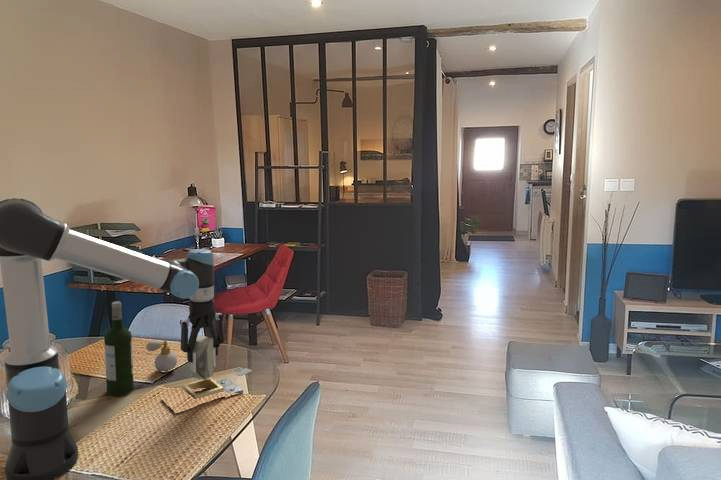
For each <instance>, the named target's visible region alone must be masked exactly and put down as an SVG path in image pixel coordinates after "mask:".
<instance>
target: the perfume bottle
mask: <svg viewBox="0 0 721 480" xmlns="http://www.w3.org/2000/svg"><path fill="white" fill-rule="evenodd" d="M145 347H146V350H147V351H149V352H155V351H157V350H159V349H160V350H161V351H160V353H158V354H157V355H156V357H155V358H154V366H155V368H156V369H155V370H157V371H158V370H159V371H158V372H160V371H168V370H171V369H173V368H174V369H175V367H176V366H177V363H178V359H177V356H176V354H175V353H173V352H172V351H171V349H170V345H168V341H167V340H166V339H164V340H163V342H161V341H158V340H150V341H148V342H147V343H146V345H145ZM174 369H173V370H174ZM171 371H172V370H171Z"/></svg>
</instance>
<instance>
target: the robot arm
mask: <svg viewBox="0 0 721 480" xmlns="http://www.w3.org/2000/svg"><path fill="white" fill-rule="evenodd" d="M42 260H44V261H48V262H51V261H53V260H59V261H63V262H66V263H69V264H73V265H76V266H78V267H79V266H80V267H84V268H87V269H90V270H93V271H96V272H100V273H103V274H107V275H109V276H110V275H111V276H114V277H116V278H119V279H120V278H121V279H123V280H126V281H129V282H134V283H137V284H140V285H144V286H146V287H150V288H154V289H157V290H159V291H162V292H166V293H169V294H172V295H173V296H174V297H177V298H179V299H189V300H188V306H189V307H188V309H189V310H188V311H189V315H188V317H187V318H186V319H184V320H182V319H181V320H180V321H179V324H180V325H179V326H180V328H181V330H180V331H181V332H180V350H181V351H182V352H183V353H186V354H187V355H186V359H187V362H188V363H189V367H190V368H189V369H190V371H191V372H192V373H193V372H194V373H195V372H196V352H194V351H193V350H194V347H195V343H196V339H197V337H199V336H198V335H199V333H200V330H201V329H203V328H206V332H207V335H208V337H209V338H213V368H216V367H217V365H216V364H217V362H216V361H217V360H216V359H217V358H216V357H217V356H219V347H220V345H223V344H224V326H223V320H224V317H225V316H224V314H223V313H221V312H215V299H214V297H215V282H214V281H215V277H214V275H215V268H214V267H215V262H214V261H215V260H214V254H213V252H212V250H210V249H208V248H197V249H190V250H188V252H187V256H185V257H181V258H169V259H157V258H155V257H152V256H149V255H145V254H144V253H140V252H138V251H134V250H131V249H128V248H126V247H123V246H121V245H117V244H114V243H110V242H108V241H106V240H103V239H99V238H96V237H93V236H90V235H87V234H86V233H85V234H84V233H82V232H78V231H76V230H73V229H71V228H70V227H69V226H68V224H67V223H65V222H63V221H61V220H57V219H55V218H53V217H51V216H49V215H47V214H46V213H44V212H43V211H42V209H41V208H40V207H39V206H38V205H37V204H36V203H34V202H33V201H31V200H28V199H24V198H16V197H14V198H13V197H12V198H6V199H3V200H1V201H0V272H1V280H2V281H1V283H2V288H3V297H4V307H5V313H6V314H5V317H6V324H7V325H6V326H7V331H8V333H7V334H8V340H9V347H10V348H9V349H10V352H9V353H8V354H7V355H6V356H5V357H4V360H3V361H4V369H5V383H6V387H7V390H6V399H7V403H8V415H9V426H10V437H11V445H10V448H9V452H8V455H7V457H6V461H5V464H4V474H5V475H4V476H5V478H6V480H54V479H55V478H58V477H60V476H62V475H64V474H65V473H67V472H68V471H69V470H71V469H72V468H73V467H74V466H75V465H76V463H77V462H78V460H79V448H78V445H77V443H76V441H75V439H74V438H73V435H72V434H71V431H70V429H69V418H68V417H69V416H68V403H67V402H68V401H67V400H68V399H67V388H68V387H67V380H66V378H65V374H64V373H63V372H62V370H60V361H59V360H60V359H59V352H58V351H59V350H58V349H57V347H56V346H54V345H52V344H51V339H50V331H49V330H50V329H49V319H48V309H47V308H48V307H47V302H46V301H47V300H46V291H45V281H44V271H43V261H42ZM214 319H215V330H214V326H213V321H214ZM190 323H191V331H190V333H189V326H190ZM215 331H216V333H215ZM189 334H190V335H189ZM77 459H78V460H77ZM76 461H77V462H76ZM74 464H75V465H74ZM73 465H74V466H73ZM72 466H73V467H72Z"/></svg>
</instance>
